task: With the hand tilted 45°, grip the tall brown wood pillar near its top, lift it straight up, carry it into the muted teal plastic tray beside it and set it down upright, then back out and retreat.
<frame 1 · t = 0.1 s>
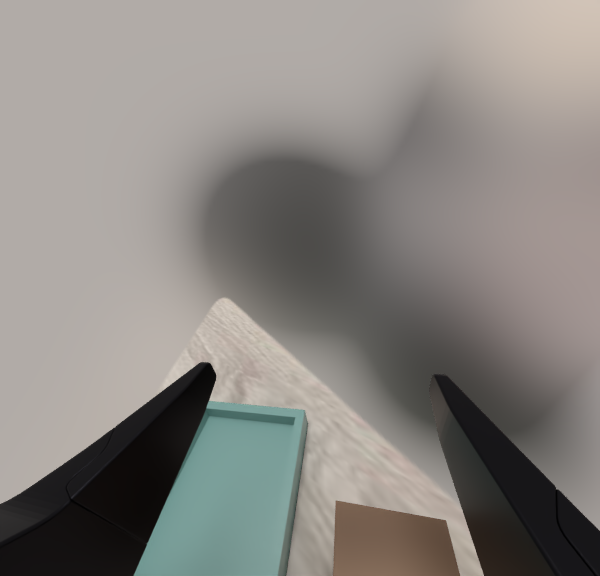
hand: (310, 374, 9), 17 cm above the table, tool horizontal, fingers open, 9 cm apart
tray: (229, 498, 19), on the table
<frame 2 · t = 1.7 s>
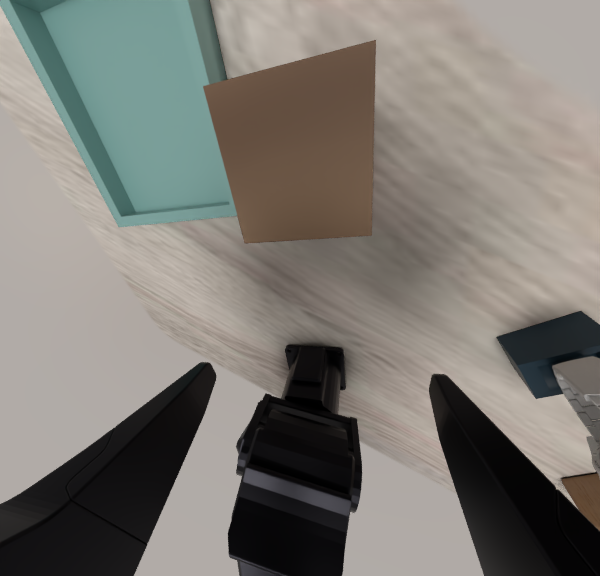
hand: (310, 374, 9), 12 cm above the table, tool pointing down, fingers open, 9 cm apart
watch: (543, 341, 19), on the table
tray: (160, 118, 17), on the table
tall brown wood pillar: (329, 156, 16), on the table
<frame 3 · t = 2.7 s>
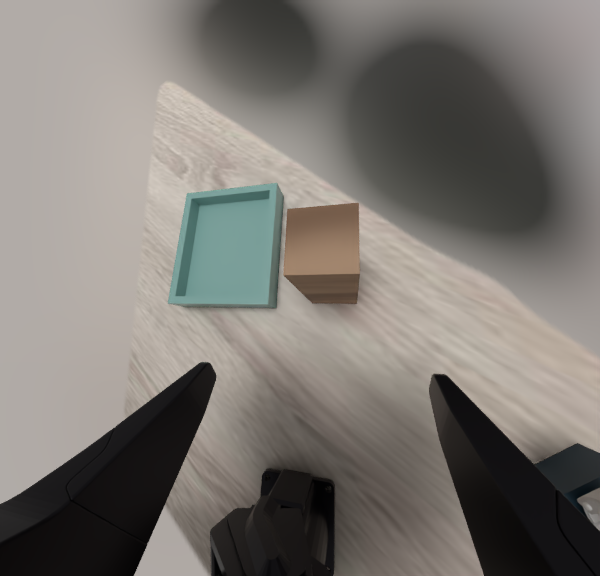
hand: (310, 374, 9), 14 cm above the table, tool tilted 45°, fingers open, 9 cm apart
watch: (566, 491, 17), on the table
tray: (234, 251, 27), on the table
tall brown wood pillar: (334, 282, 24), on the table
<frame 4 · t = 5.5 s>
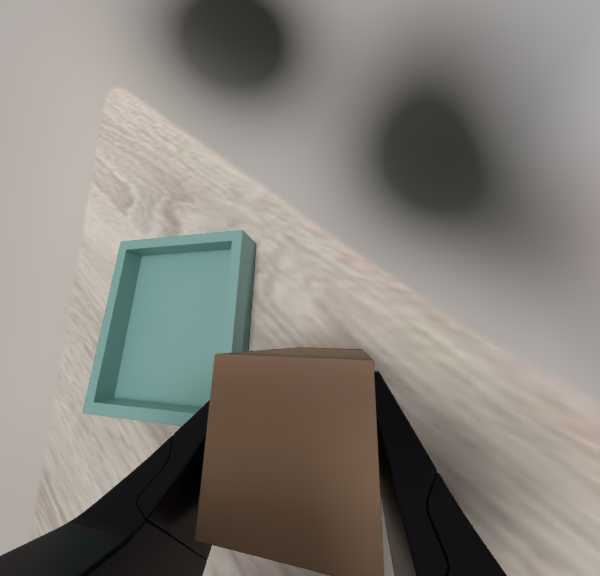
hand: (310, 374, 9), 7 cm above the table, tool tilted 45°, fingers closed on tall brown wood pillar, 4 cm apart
tray: (187, 323, 19), on the table
tall brown wood pillar: (329, 382, 16), on the table, touching gripper
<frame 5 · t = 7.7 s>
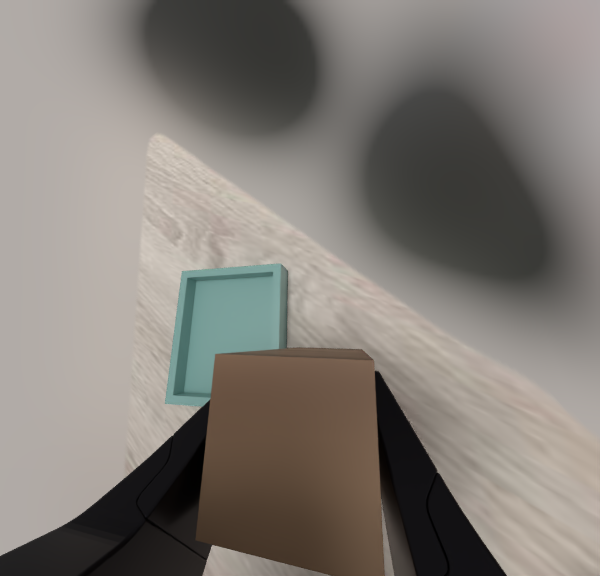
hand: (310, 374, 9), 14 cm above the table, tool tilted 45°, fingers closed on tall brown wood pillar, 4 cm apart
tray: (236, 333, 25), on the table
tall brown wood pillar: (329, 382, 16), point 6 cm above the table, touching gripper
when the fingers open (10 cm above the table, at t = 10.2 s): tall brown wood pillar drops 1 cm, resting on tray.
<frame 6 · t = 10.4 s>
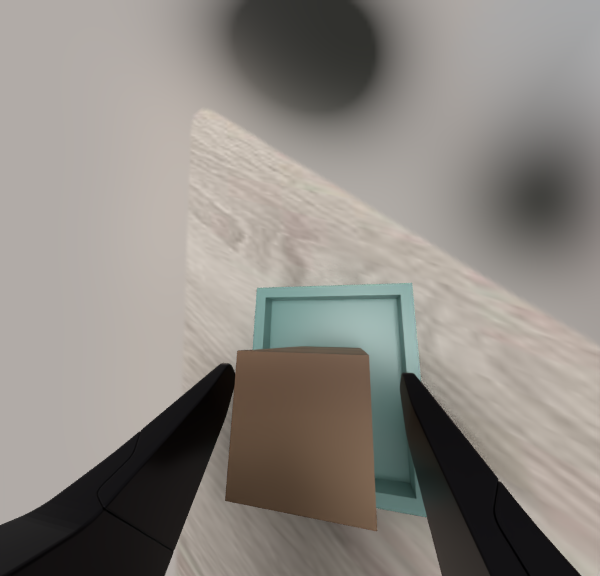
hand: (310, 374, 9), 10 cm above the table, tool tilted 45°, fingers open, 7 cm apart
tray: (332, 376, 18), on the table
tall brown wood pillar: (330, 378, 17), point 1 cm above the table, touching tray
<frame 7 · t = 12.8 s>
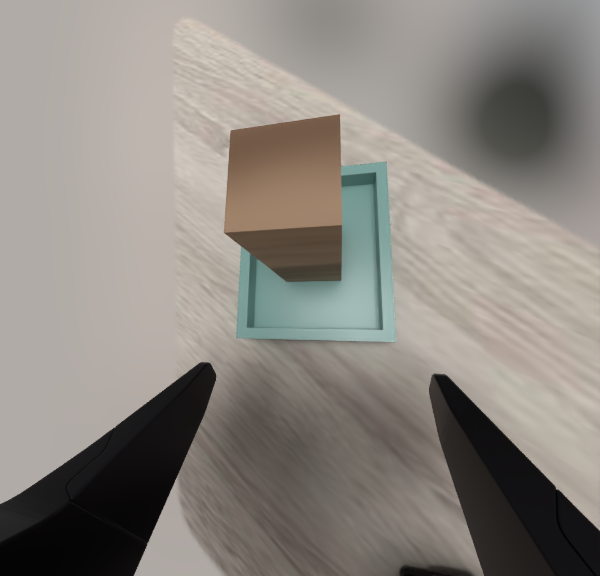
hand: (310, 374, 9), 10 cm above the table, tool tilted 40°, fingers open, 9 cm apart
tray: (315, 258, 20), on the table
tall brown wood pillar: (313, 254, 19), point 1 cm above the table, touching tray
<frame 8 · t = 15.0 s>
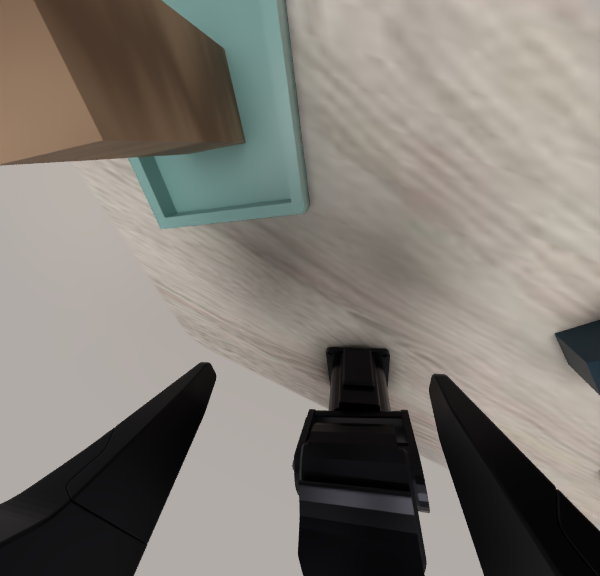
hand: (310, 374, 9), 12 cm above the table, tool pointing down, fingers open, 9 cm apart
tray: (212, 110, 15), on the table
tall brown wood pillar: (203, 107, 14), point 1 cm above the table, touching tray
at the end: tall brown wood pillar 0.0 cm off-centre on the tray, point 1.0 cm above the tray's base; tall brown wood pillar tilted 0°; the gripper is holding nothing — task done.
